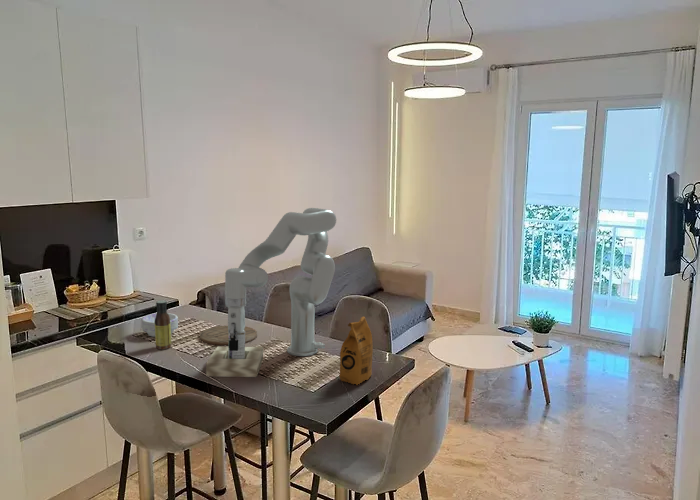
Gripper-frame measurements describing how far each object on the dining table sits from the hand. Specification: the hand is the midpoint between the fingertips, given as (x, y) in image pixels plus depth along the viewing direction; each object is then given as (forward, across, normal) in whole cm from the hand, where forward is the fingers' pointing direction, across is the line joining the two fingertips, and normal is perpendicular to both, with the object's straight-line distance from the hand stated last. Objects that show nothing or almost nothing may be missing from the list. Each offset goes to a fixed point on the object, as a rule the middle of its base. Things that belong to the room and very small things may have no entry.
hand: (236, 346), depth 196 cm
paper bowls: (+9, +39, +41) cm, 57 cm away
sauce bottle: (+9, +21, +34) cm, 41 cm away
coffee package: (+9, -9, -45) cm, 47 cm away
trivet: (+9, +37, +10) cm, 39 cm away
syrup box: (+8, 0, 0) cm, 8 cm away
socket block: (+8, 0, 0) cm, 8 cm away
